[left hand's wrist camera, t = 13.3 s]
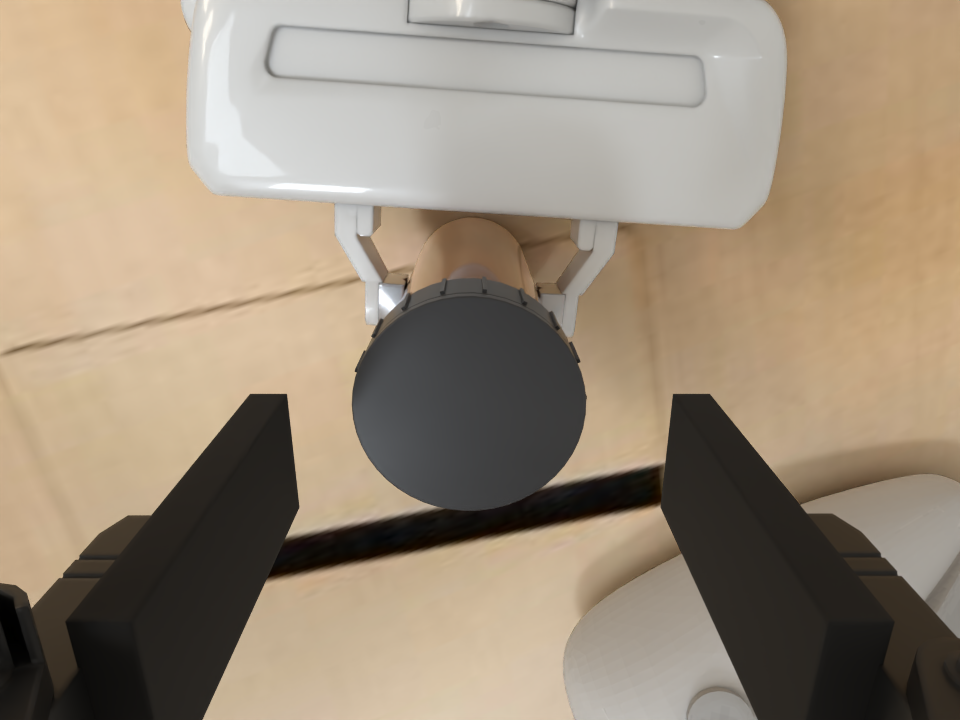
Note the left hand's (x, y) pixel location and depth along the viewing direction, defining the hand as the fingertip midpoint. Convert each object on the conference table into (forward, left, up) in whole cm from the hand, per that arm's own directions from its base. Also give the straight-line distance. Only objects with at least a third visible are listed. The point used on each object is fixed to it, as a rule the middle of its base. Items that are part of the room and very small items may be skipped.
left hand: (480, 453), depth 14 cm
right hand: (-1, 0, -13) cm, 13 cm away
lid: (0, 0, -3) cm, 3 cm away
